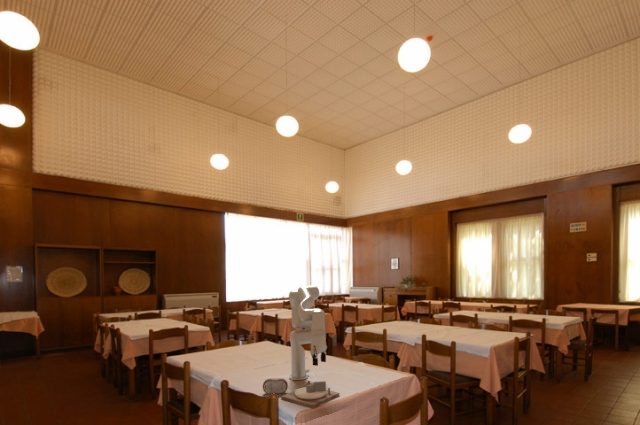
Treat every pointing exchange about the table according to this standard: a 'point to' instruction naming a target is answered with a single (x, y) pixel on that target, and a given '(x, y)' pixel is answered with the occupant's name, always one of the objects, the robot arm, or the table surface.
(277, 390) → the tin
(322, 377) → the table surface
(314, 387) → the dial
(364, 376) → the table surface
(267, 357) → the table surface
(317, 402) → the dial board
